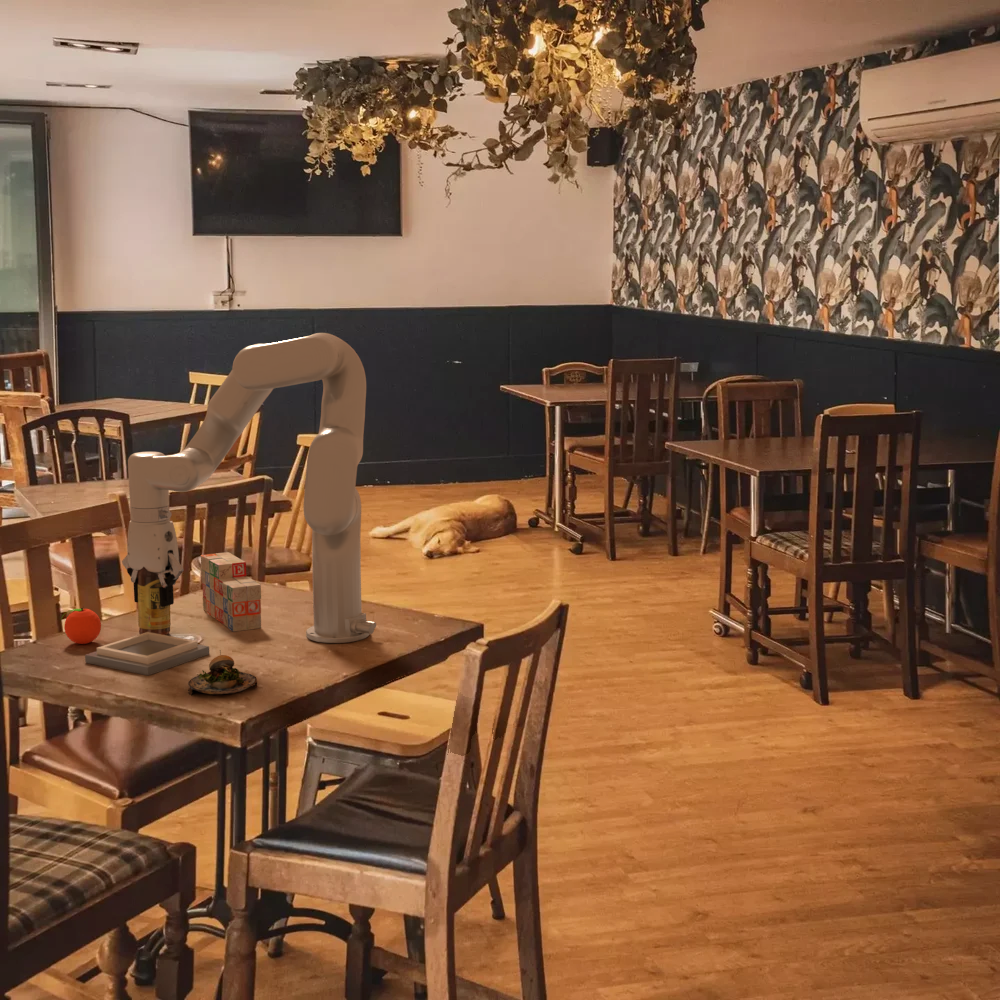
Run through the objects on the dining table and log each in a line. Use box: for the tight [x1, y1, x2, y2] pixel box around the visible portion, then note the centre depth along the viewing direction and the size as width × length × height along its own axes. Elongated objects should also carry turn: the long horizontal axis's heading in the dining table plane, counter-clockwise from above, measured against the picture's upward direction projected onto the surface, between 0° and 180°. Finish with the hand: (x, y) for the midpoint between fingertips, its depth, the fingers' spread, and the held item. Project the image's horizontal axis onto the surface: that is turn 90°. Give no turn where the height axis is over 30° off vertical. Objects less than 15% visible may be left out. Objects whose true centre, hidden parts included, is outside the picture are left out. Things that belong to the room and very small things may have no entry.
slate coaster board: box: [84, 632, 210, 676], centre depth 256 cm, size 16×16×3 cm
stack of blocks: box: [200, 551, 262, 632], centre depth 284 cm, size 21×6×12 cm, turn 28°
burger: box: [187, 651, 258, 696], centre depth 237 cm, size 12×12×8 cm
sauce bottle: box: [137, 567, 171, 636], centre depth 271 cm, size 7×6×20 cm
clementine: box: [60, 607, 102, 645], centre depth 266 cm, size 8×7×7 cm
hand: (154, 602), depth 271 cm, fingers closed on sauce bottle, 6 cm apart
